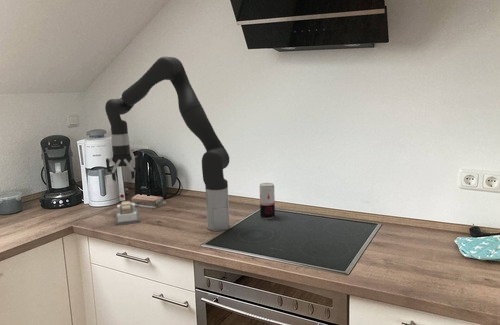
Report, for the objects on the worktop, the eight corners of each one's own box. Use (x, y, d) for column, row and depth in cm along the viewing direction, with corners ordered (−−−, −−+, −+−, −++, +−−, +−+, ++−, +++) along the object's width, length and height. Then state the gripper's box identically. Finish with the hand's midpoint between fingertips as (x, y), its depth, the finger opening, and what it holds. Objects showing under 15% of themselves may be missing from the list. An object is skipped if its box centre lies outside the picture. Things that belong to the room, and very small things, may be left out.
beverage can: (275, 214, 183) (274, 182, 180) (274, 219, 176) (273, 186, 173) (261, 214, 183) (260, 182, 181) (259, 219, 177) (258, 186, 174)
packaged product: (166, 195, 205) (153, 200, 196) (166, 204, 206) (153, 210, 197) (139, 192, 213) (126, 196, 204) (140, 200, 214) (126, 205, 205)
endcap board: (139, 222, 177) (138, 213, 177) (115, 225, 174) (115, 216, 174) (137, 210, 195) (136, 202, 194) (115, 212, 192) (115, 204, 191)
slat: (131, 219, 178) (130, 208, 178) (123, 220, 177) (122, 209, 176) (130, 210, 191) (129, 200, 191) (122, 211, 190) (121, 201, 189)
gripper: (103, 146, 173) (107, 183, 176) (137, 143, 177) (140, 180, 180) (103, 144, 180) (107, 179, 183) (136, 141, 184) (139, 176, 187)
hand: (123, 179), depth 182 cm, fingers open, 7 cm apart
